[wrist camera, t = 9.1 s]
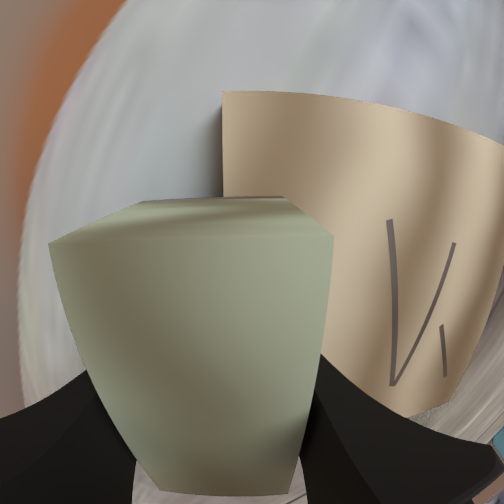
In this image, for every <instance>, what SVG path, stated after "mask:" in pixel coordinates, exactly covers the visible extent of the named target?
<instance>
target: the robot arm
mask: <svg viewBox="0 0 504 504" xmlns="http://www.w3.org/2000/svg"><path fill="white" fill-rule="evenodd" d="M299 456H300V460H301V464H302V468H303V474H304V480H305V486H306V493H307V500H308V504H474V503H473V501H472V498H473V497H475V496H476V495H477V494H479V493H480V492H481V491H482V490H483V489H485V488H486V487H487V486H489V485H490V484H491V483H492V482H493V481H495V480H496V479H497V478H498V477H499V476H500V475H501V474H502V473H503V472H504V464H503V463H502V461H501V460H500V458H499V457H498V455H497V454H496V452H495V451H494V449H493V448H492V446H491V445H486V444H481V443H476V442H471V441H466V440H462V439H458V438H454V437H451V436H448V435H445V434H442V433H439V432H436V431H434V430H431V429H429V428H426V427H424V426H421V425H419V424H417V423H415V422H413V421H411V420H409V419H407V418H405V417H403V416H401V415H399V414H397V413H396V412H394V411H392V410H390V409H389V408H387V407H386V406H384V405H383V404H381V403H379V402H378V401H376V400H375V399H373V398H372V397H370V396H369V395H368V394H366V393H365V392H364V391H362V390H361V389H360V388H358V387H357V386H356V385H355V384H353V383H352V382H351V381H350V380H349V379H348V378H346V377H345V376H344V375H343V374H342V373H341V372H340V371H339V370H338V369H337V368H335V367H334V366H333V365H332V364H331V363H330V362H329V361H328V360H327V359H326V358H325V357H324V356H323V355H322V354H320V360H319V366H318V371H317V377H316V382H315V387H314V392H313V397H312V402H311V407H310V411H309V416H308V420H307V425H306V429H305V433H304V437H303V441H302V445H301V449H300V453H299ZM136 461H137V459H136V458H135V456H134V455H133V453H132V452H131V450H130V449H129V447H128V446H127V444H126V443H125V441H124V439H123V438H122V436H121V435H120V433H119V431H118V430H117V428H116V426H115V425H114V423H113V421H112V419H111V418H110V416H109V414H108V412H107V410H106V408H105V407H104V405H103V403H102V401H101V399H100V397H99V395H98V393H97V391H96V389H95V387H94V385H93V383H92V380H91V378H90V376H89V374H88V372H87V370H85V371H84V372H83V373H81V374H80V375H79V376H77V377H76V378H75V379H73V380H72V381H70V382H69V383H68V384H66V385H65V386H64V387H62V388H61V389H59V390H58V391H56V392H54V393H53V394H51V395H50V396H48V397H46V398H44V399H43V400H41V401H39V402H37V403H35V404H33V405H31V406H29V407H27V408H25V409H23V410H21V411H18V412H16V413H14V414H11V415H9V416H6V417H3V418H1V419H0V504H132V491H133V481H134V473H135V466H136ZM484 504H504V488H503V489H502V490H500V491H499V492H498V493H497V494H495V495H494V496H493V497H491V498H490V499H489V500H488V501H486V502H485V503H484Z"/></svg>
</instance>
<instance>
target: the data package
mask: <svg viewBox="0 0 504 504" xmlns="http://www.w3.org/2000/svg"><path fill="white" fill-rule="evenodd" d="M492 443H493V446H494V447H495V449H496V450H497V451H498V453H499V455H500V456H501V458H502V459H503V461H504V427H503V428H502V429H501V430H500V431H499V432H498V433H497V434H496V435H495V436H494V438H493V441H492Z"/></svg>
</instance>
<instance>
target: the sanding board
mask: <svg viewBox="0 0 504 504" xmlns="http://www.w3.org/2000/svg"><path fill="white" fill-rule="evenodd" d="M222 143H223V195H224V197H244V196H283V197H284V198H286V199H287V200H288V201H290V202H291V203H292V204H294V205H295V206H296V207H298V208H299V209H300V210H302V211H303V212H304V213H306V214H307V215H308V216H310V217H311V218H312V219H314V220H315V221H316V222H317V223H319V224H320V225H321V226H323V227H324V228H325V229H326V230H328V231H329V232H330V233H331V234H333V235H334V246H333V258H332V269H331V279H330V289H329V297H328V306H327V313H326V321H325V328H324V335H323V341H322V348H321V354H322V355H323V356H324V357H325V358H326V359H327V360H328V361H329V362H330V363H331V364H332V365H333V366H334V367H335V368H337V369H338V370H339V371H340V372H341V373H342V374H343V375H344V376H345V377H346V378H348V379H349V380H350V381H351V382H352V383H353V384H355V385H356V386H357V387H358V388H360V389H361V390H362V391H364V392H365V393H366V394H368V395H369V396H370V397H372V398H373V399H375V400H376V401H378V402H379V403H381V404H383V405H384V406H386V407H387V408H389V409H390V410H392V411H394V412H396V413H397V414H399V415H401V416H403V417H405V418H409V417H411V416H414V415H417V414H420V413H422V412H425V411H427V410H430V409H432V408H435V407H437V406H439V405H442V404H444V403H446V402H448V401H449V400H450V398H451V396H452V395H453V393H454V391H455V389H456V388H457V386H458V384H459V382H460V380H461V378H462V376H463V375H464V373H465V371H466V369H467V367H468V364H469V362H470V360H471V358H472V356H473V354H474V352H475V349H476V347H477V345H478V342H479V340H480V338H481V335H482V333H483V330H484V327H485V325H486V322H487V319H488V317H489V314H490V311H491V308H492V305H493V302H494V299H495V295H496V292H497V289H498V285H499V281H500V278H501V274H502V270H503V265H504V145H501V144H499V143H497V142H495V141H493V140H491V139H488V138H486V137H484V136H481V135H479V134H476V133H474V132H471V131H469V130H466V129H464V128H461V127H458V126H455V125H453V124H450V123H447V122H444V121H441V120H438V119H434V118H431V117H428V116H425V115H421V114H418V113H414V112H410V111H406V110H402V109H398V108H394V107H390V106H385V105H380V104H376V103H371V102H365V101H360V100H354V99H347V98H341V97H333V96H325V95H316V94H306V93H293V92H275V91H222Z"/></svg>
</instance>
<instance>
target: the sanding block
mask: <svg viewBox="0 0 504 504" xmlns="http://www.w3.org/2000/svg"><path fill="white" fill-rule="evenodd" d="M48 245H49V251H50V256H51V261H52V265H53V270H54V274H55V278H56V282H57V286H58V290H59V293H60V297H61V300H62V304H63V307H64V310H65V314H66V317H67V320H68V323H69V326H70V329H71V332H72V334H73V337H74V340H75V342H76V345H77V348H78V350H79V353H80V355H81V358H82V360H83V362H84V365H85V367H86V369H87V372H88V374H89V376H90V378H91V380H92V383H93V385H94V387H95V389H96V391H97V393H98V395H99V397H100V399H101V401H102V403H103V405H104V407H105V408H106V410H107V412H108V414H109V416H110V418H111V419H112V421H113V423H114V425H115V426H116V428H117V430H118V431H119V433H120V435H121V436H122V438H123V439H124V441H125V443H126V444H127V446H128V447H129V449H130V450H131V452H132V453H133V455H134V456H135V458H136V459H137V460H138V462H139V463H140V465H141V466H142V467H143V469H144V470H145V472H146V473H147V474H148V476H149V477H150V478H151V479H152V481H153V482H154V483H155V485H156V486H157V487H158V488H159V490H163V491H170V492H177V493H185V494H195V495H209V496H267V495H280V494H288V491H289V488H290V484H291V481H292V478H293V474H294V471H295V467H296V464H297V460H298V456H299V453H300V449H301V445H302V441H303V437H304V433H305V429H306V425H307V420H308V416H309V411H310V407H311V402H312V397H313V392H314V387H315V382H316V377H317V371H318V366H319V360H320V354H321V348H322V341H323V335H324V328H325V321H326V313H327V306H328V297H329V289H330V279H331V269H332V258H333V246H334V235H333V234H331V233H330V232H329V231H328V230H326V229H325V228H324V227H323V226H321V225H320V224H319V223H317V222H316V221H315V220H314V219H312V218H311V217H310V216H308V215H307V214H306V213H304V212H303V211H302V210H300V209H299V208H298V207H296V206H295V205H294V204H292V203H291V202H290V201H288V200H287V199H286V198H284V197H283V196H244V197H208V198H185V199H167V200H152V201H142V202H140V203H137V204H135V205H132V206H130V207H127V208H125V209H122V210H120V211H118V212H115V213H113V214H111V215H108V216H106V217H104V218H101V219H99V220H97V221H95V222H92V223H90V224H88V225H86V226H84V227H82V228H79V229H77V230H75V231H73V232H71V233H69V234H67V235H65V236H63V237H61V238H59V239H57V240H55V241H53V242H51V243H49V244H48Z"/></svg>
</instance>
